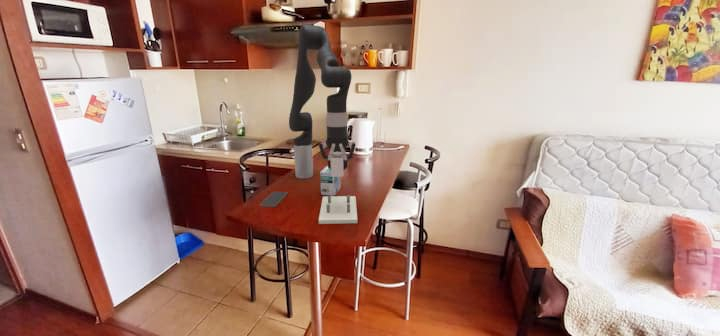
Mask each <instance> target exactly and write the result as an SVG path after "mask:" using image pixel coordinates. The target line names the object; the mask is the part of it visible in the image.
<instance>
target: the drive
mask: <svg viewBox="0 0 720 336" xmlns="http://www.w3.org/2000/svg"><path fill="white" fill-rule="evenodd" d="M344 171H345V170H344V158H343V155H342V152H333V154H332V155H331V177H340V178H342V177H344V176H345V175H344Z"/></svg>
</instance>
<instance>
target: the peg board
mask: <svg viewBox="0 0 720 336" xmlns="http://www.w3.org/2000/svg"><path fill="white" fill-rule="evenodd" d="M325 224H326V225H330V224H331V225H332V224H334V225H335V224H340V225H342V224H344V225H345V224H358V211H357V198H356V196H355V195H353V196H352V195H350V194H347V195H346V196H345V195H343V196H342V195H340V196H339V195H337V196H336V195H335V196H332V195H324V196H322V200H321V206H320V211H319V216H318V225H325Z"/></svg>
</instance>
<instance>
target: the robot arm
mask: <svg viewBox="0 0 720 336" xmlns="http://www.w3.org/2000/svg"><path fill="white" fill-rule="evenodd" d="M308 50H312V51H313V50H314V51H317V53H316V62H317V65H318V66H319V68H320V74H321V75H320V80H321V84H322V85H323V86H324V87H326V88H328V89H330V88H333V89H334V88H338V91H337V92H335V93H334V94H328V96H327V97H326V120H325V121H326V124H325V125H326V140H325V141H324V142H322V141H321V142H319V143H318V148H319V150H320V153H321V156H322V157H321V158H322V159H324V160H326V161H327V166H328V168H330V170H331V155H332V154H333V152H342V155H343V158H344V171H346V170H347V169H348V160H350V159H352V158H353V155H354V151H355V148H356V142H354V141H353V142H351V141H349V139H348V113H347V112H348V111H347V99H348V95H349V90H350V86H351V83H352V72H351V70H350V68H348V67H347V66H340V63H339V60H338V58H337V56H336V54H335V53H334V52H333V48H332V44H331V41H330V37H329V34H328V31H327V30H326V28H324V27H323V26H319V25H312V24H302V25H301V27H300V29H299V34H298V49H297V51H298V52H297V64H296V70H295V77H294V86H293V97H292V103H291V107H290V113H289V117H288V126H289V129H290V131H291V132H296V133H297V132H302V133H301V134H300V135H299V136H297V137H294V139H293V154H294V169H295V170H294V171H295V177H296V178H297V179H303V180H304V179H309V178H313V177H314V163H313V161H314V159H313V118H312V114H311V113H310V112H308V111H307V112H306V111H305V112H301V111H302V109H303V107H304V106H305V105H306V104H307V103H308V101H309V100H310V99H311V97H312V96H313V95H314V92H315V88H316V82H317V78H316V74H315V72H314V69H313V68H312V65H311V64H310V62H309V58H308ZM326 146H327V147H328V148H329V153H328V154H327V153H326V149H325V148H326ZM348 146H349V148H350V150H349V153H348V154H347V153H346V148H347V147H348Z"/></svg>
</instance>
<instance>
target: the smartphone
mask: <svg viewBox="0 0 720 336" xmlns="http://www.w3.org/2000/svg"><path fill="white" fill-rule="evenodd" d="M287 195H288V192H287V191H272V192H271V193H270V194H269V195H268V196H267V197H266V198H264V199H263V201H262V202H260V203H259V205H258V206H259V207H264V206H265V208H266V207H267V208H276V207H277V206H279V204H280V203H281V202H282V201H283V200H284V199H286V197H287Z"/></svg>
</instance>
